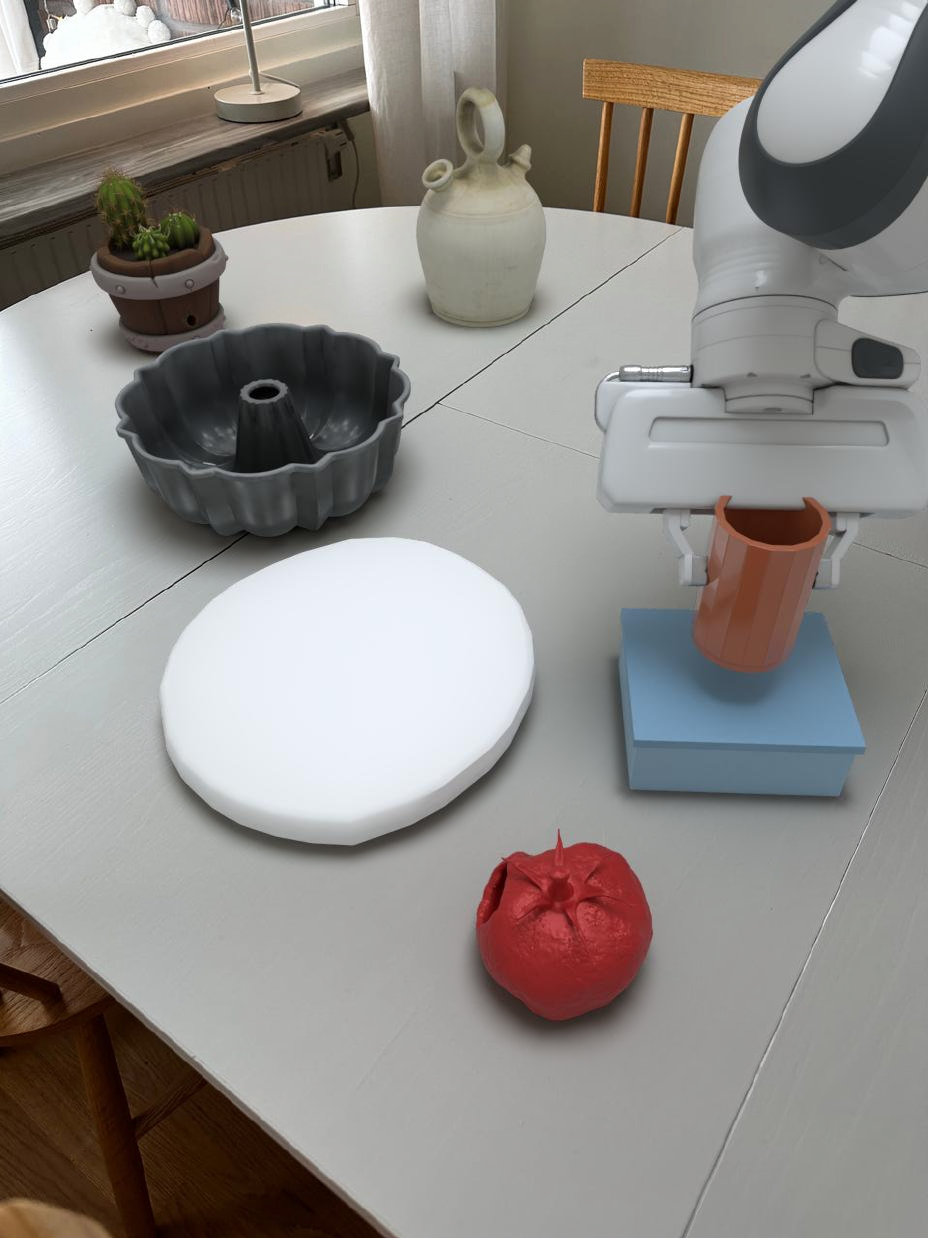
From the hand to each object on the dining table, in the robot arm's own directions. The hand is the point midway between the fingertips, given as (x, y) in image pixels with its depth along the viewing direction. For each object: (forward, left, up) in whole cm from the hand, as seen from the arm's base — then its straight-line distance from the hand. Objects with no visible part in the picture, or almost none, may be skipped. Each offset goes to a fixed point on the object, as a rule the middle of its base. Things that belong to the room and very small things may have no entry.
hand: (758, 587), depth 61 cm
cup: (0, -1, -5) cm, 5 cm away
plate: (+27, -3, -14) cm, 31 cm away
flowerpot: (+56, -60, -14) cm, 83 cm away
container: (0, -1, -14) cm, 14 cm away
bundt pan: (+38, -31, -14) cm, 51 cm away
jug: (+20, -69, -14) cm, 73 cm away
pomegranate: (+12, +17, -14) cm, 26 cm away
